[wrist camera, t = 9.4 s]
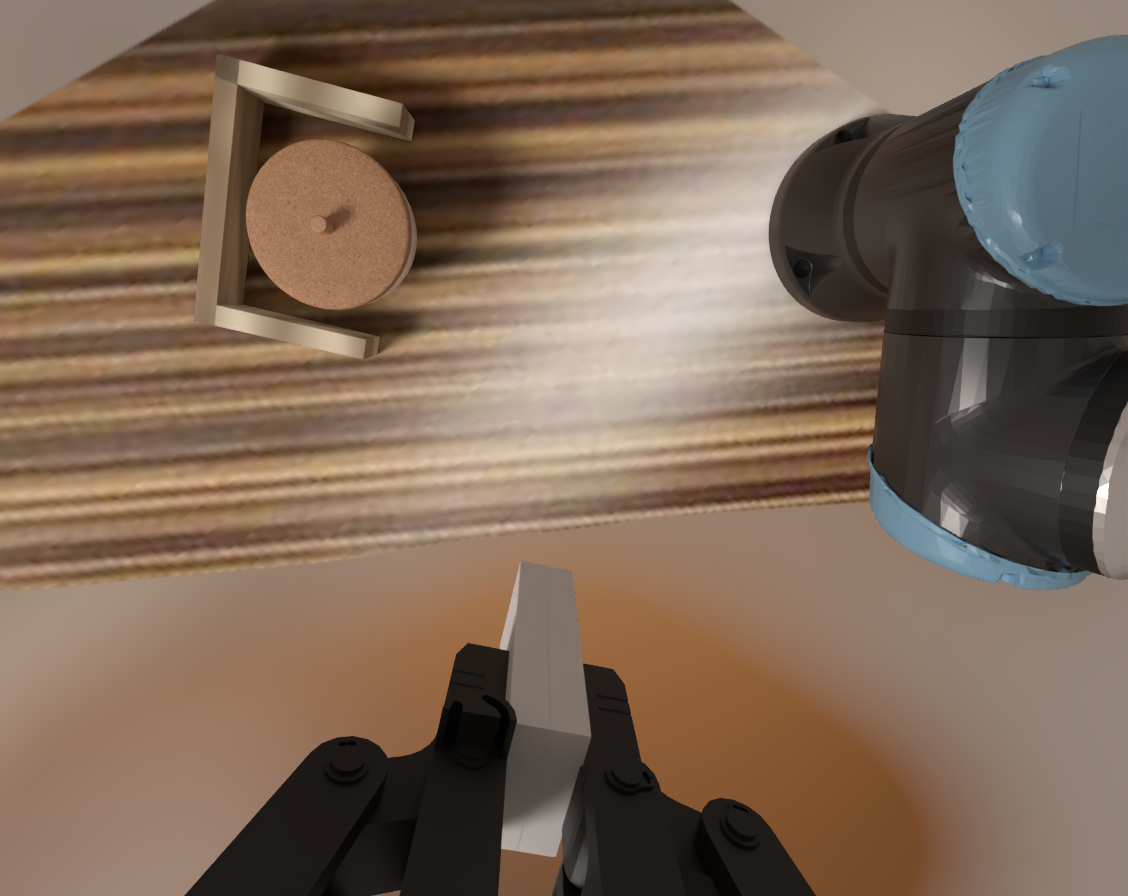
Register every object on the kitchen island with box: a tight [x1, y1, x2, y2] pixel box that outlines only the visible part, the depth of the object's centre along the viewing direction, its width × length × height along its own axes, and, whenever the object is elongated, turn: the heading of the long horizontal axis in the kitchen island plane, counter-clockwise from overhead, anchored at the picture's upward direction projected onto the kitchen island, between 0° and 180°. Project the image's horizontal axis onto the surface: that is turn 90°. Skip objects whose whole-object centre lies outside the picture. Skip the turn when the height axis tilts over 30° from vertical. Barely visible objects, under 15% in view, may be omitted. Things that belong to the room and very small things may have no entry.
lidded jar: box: [246, 139, 417, 310], centre depth 42 cm, size 11×11×9 cm
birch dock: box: [194, 54, 415, 359], centre depth 44 cm, size 12×18×4 cm
